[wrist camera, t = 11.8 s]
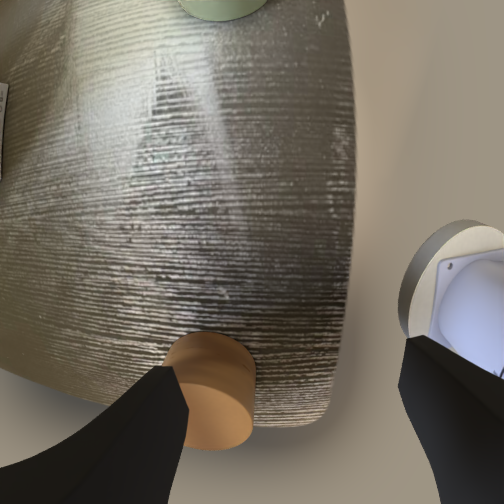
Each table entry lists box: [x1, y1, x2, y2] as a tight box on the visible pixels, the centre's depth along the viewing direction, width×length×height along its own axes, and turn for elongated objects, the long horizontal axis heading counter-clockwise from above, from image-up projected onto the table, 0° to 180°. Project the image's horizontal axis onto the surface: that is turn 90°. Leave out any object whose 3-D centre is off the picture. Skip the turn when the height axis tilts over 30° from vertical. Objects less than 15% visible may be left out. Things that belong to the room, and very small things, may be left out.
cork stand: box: [162, 332, 256, 450], centre depth 18 cm, size 7×7×6 cm
